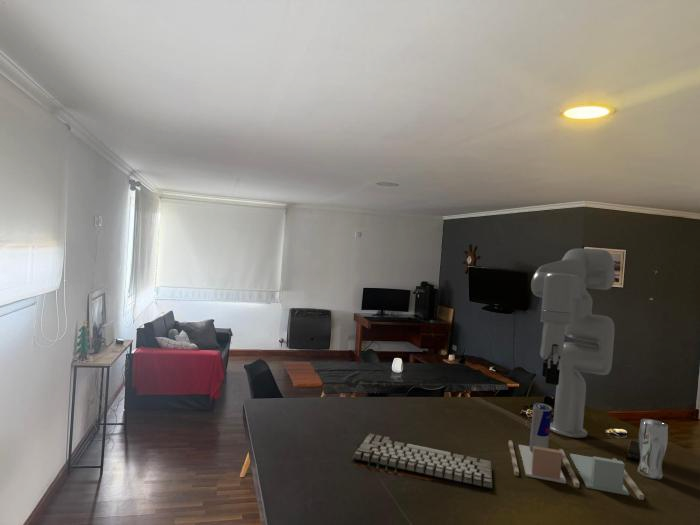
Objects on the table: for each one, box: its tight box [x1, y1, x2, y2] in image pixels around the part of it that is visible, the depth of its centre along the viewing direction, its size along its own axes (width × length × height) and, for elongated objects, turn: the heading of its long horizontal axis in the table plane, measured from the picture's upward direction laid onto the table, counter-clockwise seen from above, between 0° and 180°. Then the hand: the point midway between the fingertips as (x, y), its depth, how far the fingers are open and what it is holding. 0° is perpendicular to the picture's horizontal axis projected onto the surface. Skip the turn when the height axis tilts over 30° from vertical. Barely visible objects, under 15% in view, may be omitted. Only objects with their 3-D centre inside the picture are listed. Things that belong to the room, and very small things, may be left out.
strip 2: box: [569, 453, 630, 496], centre depth 131 cm, size 22×10×8 cm, turn 165°
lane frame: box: [508, 439, 645, 501], centre depth 133 cm, size 24×31×1 cm
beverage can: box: [529, 402, 553, 453], centre depth 140 cm, size 5×5×15 cm
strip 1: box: [518, 444, 567, 484], centre depth 135 cm, size 22×10×8 cm, turn 165°
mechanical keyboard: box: [351, 433, 494, 493], centre depth 128 cm, size 38×19×3 cm, turn 74°
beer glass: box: [637, 418, 669, 480], centre depth 134 cm, size 7×7×15 cm
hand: (549, 380), depth 127 cm, fingers open, 9 cm apart
